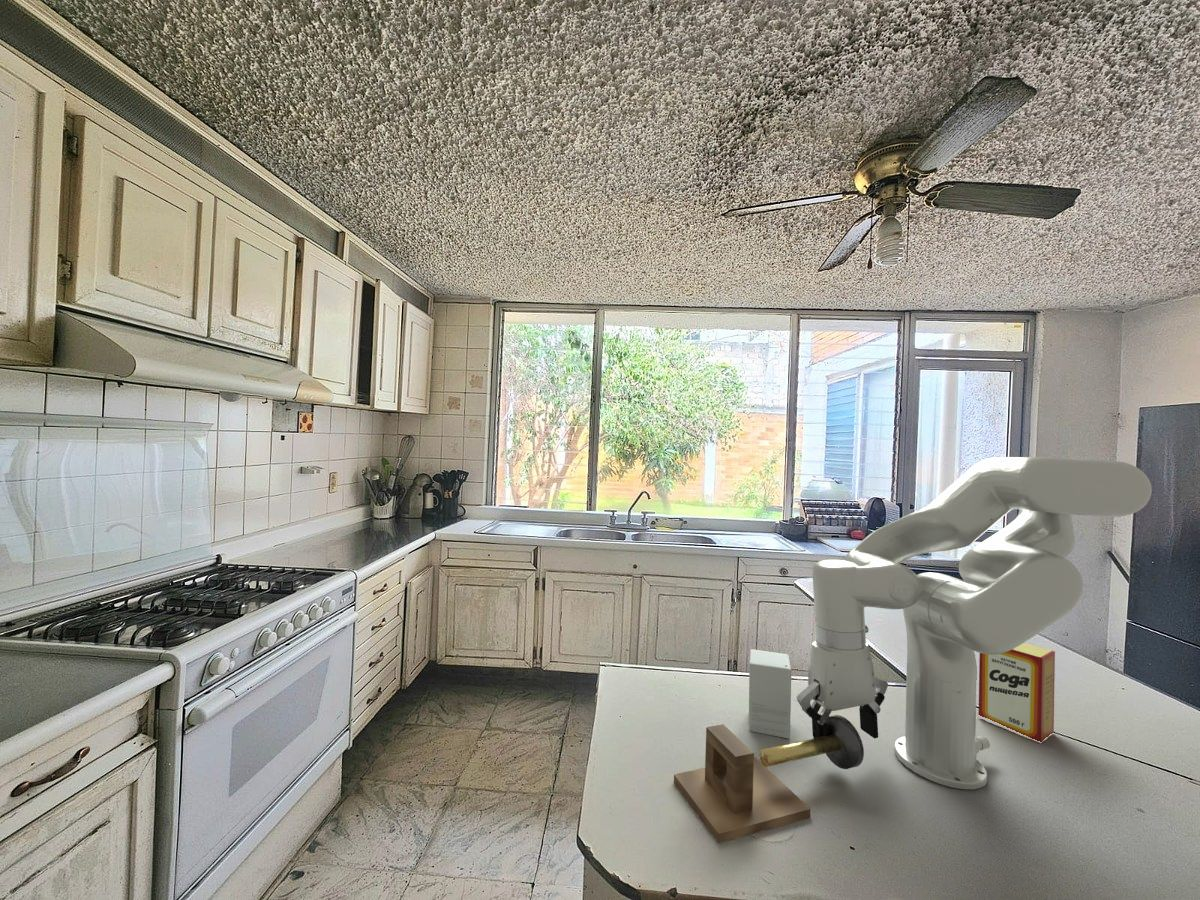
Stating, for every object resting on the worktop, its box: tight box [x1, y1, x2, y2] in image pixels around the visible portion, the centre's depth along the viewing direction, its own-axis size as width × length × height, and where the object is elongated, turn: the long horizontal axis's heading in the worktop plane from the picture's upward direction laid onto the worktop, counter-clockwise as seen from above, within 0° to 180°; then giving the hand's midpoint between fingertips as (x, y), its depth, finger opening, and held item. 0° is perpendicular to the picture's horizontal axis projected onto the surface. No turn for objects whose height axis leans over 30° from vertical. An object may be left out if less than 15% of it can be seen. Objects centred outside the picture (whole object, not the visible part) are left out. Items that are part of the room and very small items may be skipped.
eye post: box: [673, 723, 811, 844], centre depth 69 cm, size 15×12×9 cm
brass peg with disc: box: [758, 714, 865, 770], centre depth 74 cm, size 17×7×7 cm, turn 110°
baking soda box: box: [978, 642, 1056, 742], centre depth 92 cm, size 10×6×16 cm
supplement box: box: [748, 648, 792, 740], centre depth 89 cm, size 7×7×13 cm
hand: (845, 739), depth 79 cm, fingers open, 9 cm apart
